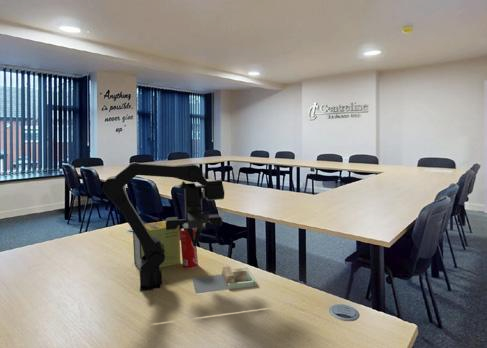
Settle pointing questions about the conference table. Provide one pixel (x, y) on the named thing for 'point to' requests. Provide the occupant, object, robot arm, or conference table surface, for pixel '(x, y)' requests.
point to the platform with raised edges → (220, 283)
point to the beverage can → (188, 250)
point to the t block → (234, 275)
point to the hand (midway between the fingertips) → (194, 246)
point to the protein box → (166, 238)
